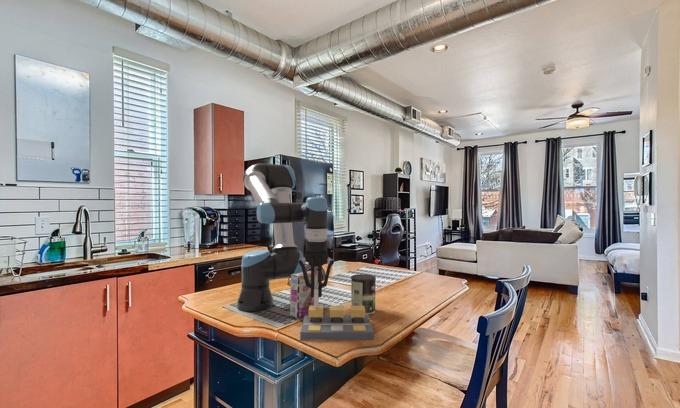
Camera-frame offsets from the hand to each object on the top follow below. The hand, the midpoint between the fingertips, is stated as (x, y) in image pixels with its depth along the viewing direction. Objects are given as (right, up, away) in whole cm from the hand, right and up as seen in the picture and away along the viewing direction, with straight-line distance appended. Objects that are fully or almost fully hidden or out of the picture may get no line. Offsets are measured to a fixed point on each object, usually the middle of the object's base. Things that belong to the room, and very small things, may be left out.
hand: (316, 306), depth 114 cm
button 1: (0, -5, 0) cm, 5 cm away
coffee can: (+18, -8, +18) cm, 27 cm away
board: (+7, -8, -2) cm, 11 cm away
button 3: (+15, -6, 0) cm, 16 cm away
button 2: (+7, -6, 0) cm, 9 cm away
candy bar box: (-6, -8, +14) cm, 17 cm away
